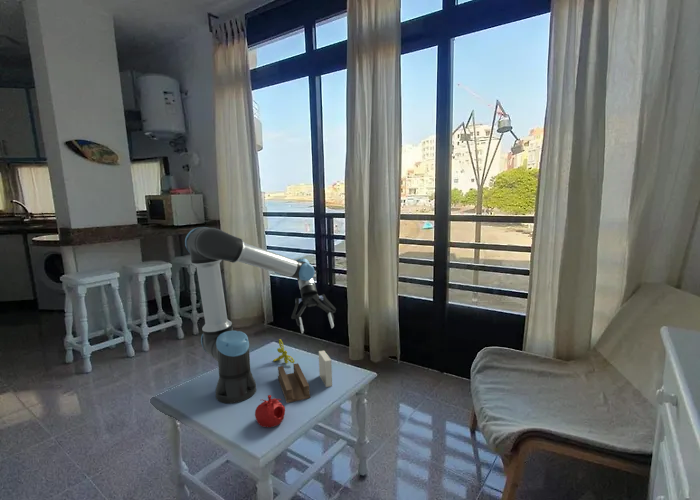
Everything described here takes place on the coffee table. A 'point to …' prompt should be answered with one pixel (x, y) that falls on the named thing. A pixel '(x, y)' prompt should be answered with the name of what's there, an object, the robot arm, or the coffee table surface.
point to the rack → (293, 384)
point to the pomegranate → (270, 412)
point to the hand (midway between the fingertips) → (318, 329)
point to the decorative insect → (283, 354)
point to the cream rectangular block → (325, 368)
